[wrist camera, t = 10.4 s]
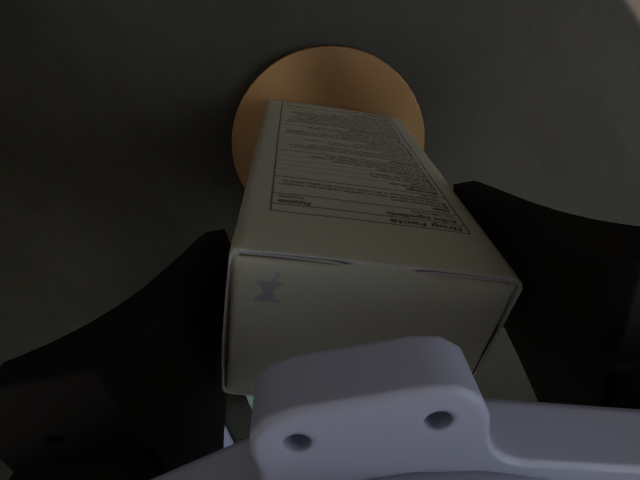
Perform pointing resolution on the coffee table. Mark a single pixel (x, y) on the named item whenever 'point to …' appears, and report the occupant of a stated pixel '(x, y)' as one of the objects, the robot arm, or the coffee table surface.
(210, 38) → the coffee table surface
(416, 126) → the coaster
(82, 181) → the coffee table surface
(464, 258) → the cosmetic box
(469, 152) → the coffee table surface
